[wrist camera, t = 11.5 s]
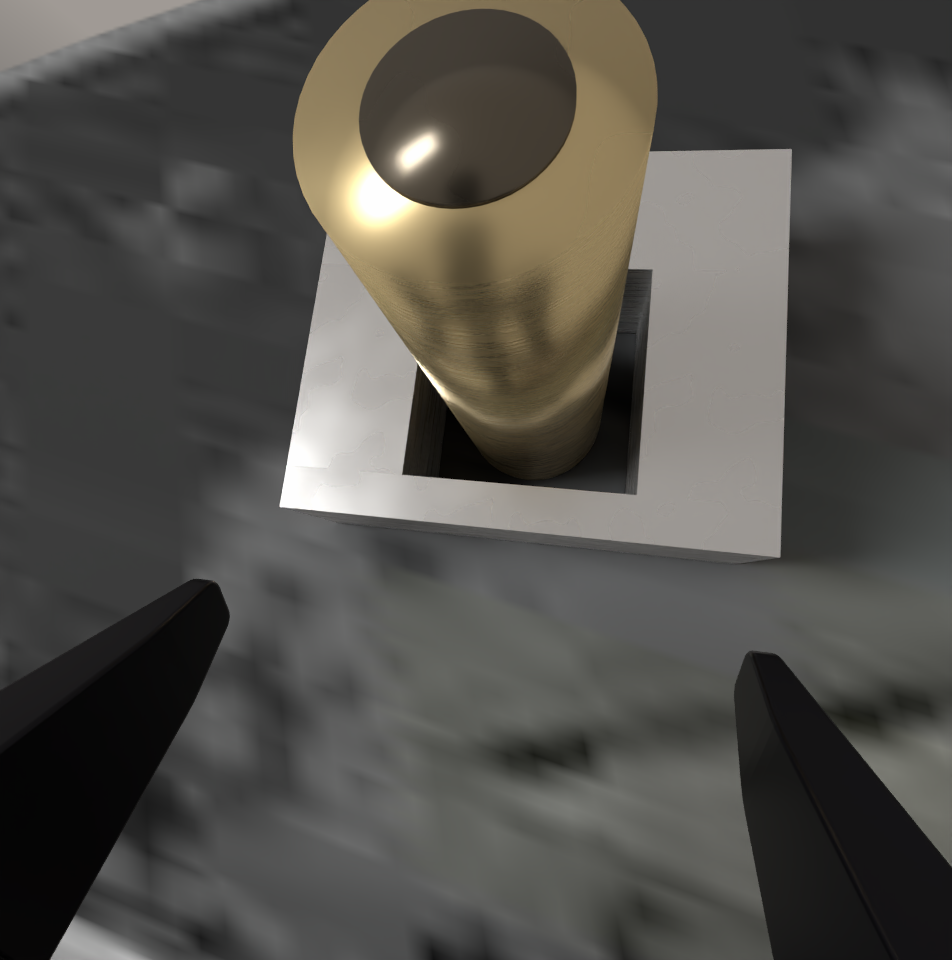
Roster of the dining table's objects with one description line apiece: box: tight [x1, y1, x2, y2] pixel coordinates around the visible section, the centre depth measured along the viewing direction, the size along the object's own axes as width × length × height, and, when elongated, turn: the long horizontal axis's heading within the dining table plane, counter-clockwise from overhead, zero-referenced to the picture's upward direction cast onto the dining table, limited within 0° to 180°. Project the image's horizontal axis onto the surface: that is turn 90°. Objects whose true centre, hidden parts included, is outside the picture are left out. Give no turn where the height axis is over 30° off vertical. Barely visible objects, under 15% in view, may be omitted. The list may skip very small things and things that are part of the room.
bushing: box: [293, 0, 657, 480], centre depth 13 cm, size 4×4×13 cm
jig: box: [280, 149, 792, 564], centre depth 18 cm, size 11×13×4 cm
